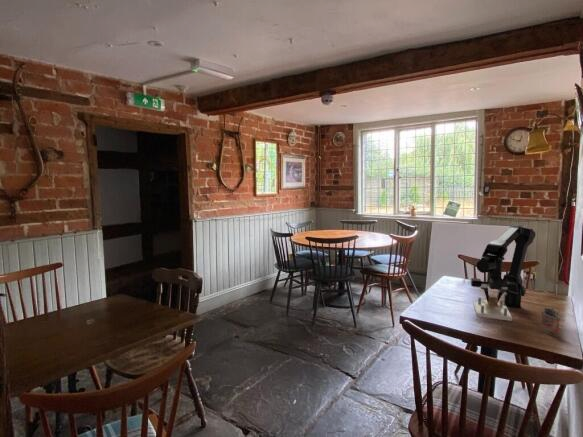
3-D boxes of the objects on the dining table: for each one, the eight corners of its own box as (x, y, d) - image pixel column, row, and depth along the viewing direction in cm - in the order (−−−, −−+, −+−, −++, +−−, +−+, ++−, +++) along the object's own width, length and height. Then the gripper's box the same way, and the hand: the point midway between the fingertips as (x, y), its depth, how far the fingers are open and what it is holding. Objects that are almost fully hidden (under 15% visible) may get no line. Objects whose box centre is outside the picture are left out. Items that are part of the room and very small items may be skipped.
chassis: (505, 308, 171) (506, 299, 171) (511, 321, 157) (512, 311, 156) (473, 304, 177) (474, 296, 176) (476, 316, 162) (477, 306, 162)
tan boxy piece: (497, 304, 170) (498, 293, 169) (501, 310, 161) (502, 299, 161) (483, 302, 172) (484, 292, 171) (486, 308, 163) (487, 297, 163)
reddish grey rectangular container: (537, 327, 150) (539, 305, 149) (544, 327, 150) (547, 305, 149) (553, 336, 142) (555, 312, 141) (560, 336, 142) (563, 312, 141)
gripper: (473, 271, 161) (471, 305, 162) (521, 276, 154) (519, 311, 155) (471, 266, 171) (469, 297, 173) (516, 270, 164) (514, 302, 166)
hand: (492, 302), depth 166 cm, fingers closed on tan boxy piece, 3 cm apart
